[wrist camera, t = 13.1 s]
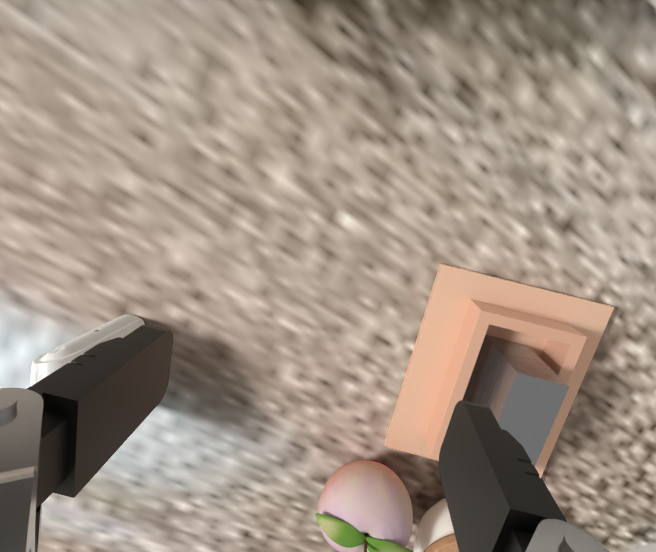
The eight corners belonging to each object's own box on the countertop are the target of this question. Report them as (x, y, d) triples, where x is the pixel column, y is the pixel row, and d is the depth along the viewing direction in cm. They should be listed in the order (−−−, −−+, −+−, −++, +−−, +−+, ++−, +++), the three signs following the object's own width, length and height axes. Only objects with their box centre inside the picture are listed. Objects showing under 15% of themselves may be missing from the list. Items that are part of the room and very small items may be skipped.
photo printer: (108, 314, 42) (3, 365, 30) (145, 310, 41) (54, 361, 29) (130, 402, 44) (40, 482, 32) (166, 399, 43) (89, 480, 31)
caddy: (384, 441, 42) (386, 470, 37) (440, 262, 37) (449, 272, 33) (533, 481, 41) (552, 516, 37) (608, 304, 36) (641, 320, 32)
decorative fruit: (417, 446, 41) (432, 525, 32) (400, 510, 43) (410, 603, 33) (330, 428, 42) (318, 500, 32) (317, 492, 44) (303, 578, 34)
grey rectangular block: (485, 334, 37) (516, 372, 29) (526, 345, 37) (569, 386, 29) (455, 415, 39) (477, 471, 31) (495, 426, 39) (526, 484, 31)
